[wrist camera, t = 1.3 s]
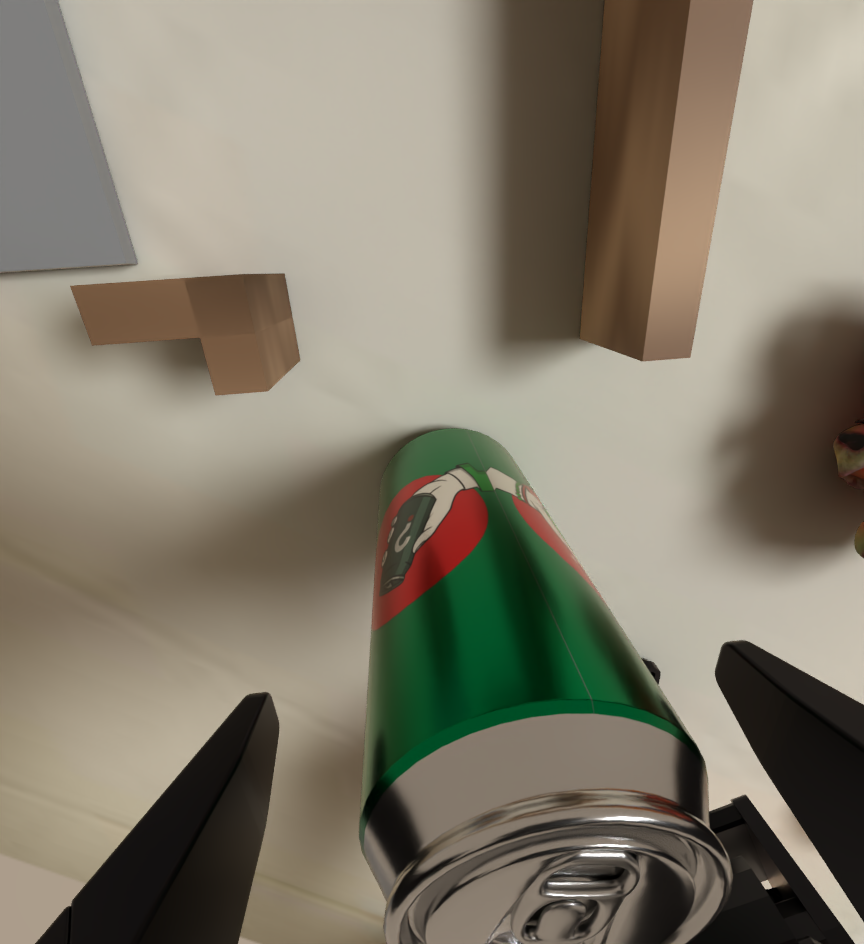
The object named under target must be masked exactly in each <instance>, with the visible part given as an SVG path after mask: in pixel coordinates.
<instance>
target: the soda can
mask: <svg viewBox="0 0 864 944" xmlns="http://www.w3.org/2000/svg"><path fill="white" fill-rule="evenodd" d="M359 840H360V844H361V849H362V853H363V855H364V857H365V859H366V861H367V863H368V865H369V867H370V869H371V871H372V873H373V875H374V877H375V879H376V881H377V882H378V884H379V886H380V889H381V891H382V893H383V895H384V897H385V900H386V902H387V904H386V910H385V917H384V925H383V928H384V933H385V938H386V943H387V944H688V943H689V942H691V941H692V940H693V939H695V938H696V937H697V936H698V935H700V934H701V933H702V932H703V931H704V930H705V929H706V928H707V927H708V926H709V925H710V924H711V923H712V922H713V921H714V920H715V919H716V918H717V916H718V915H719V914H720V912H721V911H722V909H723V908H724V906H725V905H726V903H727V900H728V898H729V896H730V894H731V890H732V884H733V873H732V867H731V863H730V860H729V856H728V854H727V852H726V850H725V848H724V846H723V844H722V843H721V841H720V840H719V838H718V837H717V836H716V835H715V833H714V832H713V831H712V830H711V829H710V822H709V793H708V775H707V770H706V765H705V761H704V759H703V757H702V755H701V753H700V751H699V749H698V747H697V745H696V743H695V742H694V740H693V738H692V737H691V735H690V734H689V732H688V731H687V729H686V728H685V726H684V724H683V723H682V721H681V720H680V718H679V717H678V715H677V714H676V712H675V710H674V709H673V707H672V706H671V704H670V703H669V701H668V700H667V698H666V696H665V695H664V693H663V692H662V690H661V689H660V687H659V685H658V684H657V682H656V681H655V679H654V678H653V676H652V675H651V673H650V671H649V670H648V668H647V667H646V665H645V664H644V662H643V661H642V659H641V657H640V656H639V654H638V653H637V651H636V650H635V648H634V647H633V645H632V643H631V642H630V640H629V639H628V637H627V636H626V634H625V632H624V631H623V629H622V628H621V626H620V625H619V623H618V622H617V620H616V618H615V617H614V615H613V614H612V612H611V611H610V609H609V608H608V606H607V604H606V603H605V601H604V600H603V598H602V597H601V595H600V593H599V592H598V590H597V589H596V587H595V586H594V584H593V583H592V581H591V579H590V578H589V576H588V575H587V573H586V572H585V570H584V569H583V567H582V565H581V564H580V562H579V561H578V559H577V558H576V556H575V555H574V553H573V551H572V550H571V548H570V547H569V545H568V544H567V542H566V540H565V539H564V537H563V536H562V534H561V533H560V531H559V530H558V528H557V526H556V525H555V523H554V522H553V520H552V519H551V517H550V516H549V514H548V512H547V511H546V509H545V508H544V506H543V505H542V503H541V502H540V500H539V498H538V497H537V495H536V494H535V492H534V491H533V489H532V487H531V486H530V484H529V483H528V481H527V480H526V478H525V477H524V475H523V473H522V472H521V470H520V469H519V467H518V466H517V464H516V463H515V461H514V459H513V458H512V456H511V455H510V454H509V453H508V451H507V450H506V449H505V448H504V447H503V446H502V445H500V444H499V443H498V442H497V441H495V440H494V439H492V438H490V437H489V436H487V435H484V434H482V433H479V432H476V431H472V430H468V429H458V428H451V429H441V430H436V431H432V432H429V433H426V434H424V435H421V436H419V437H417V438H416V439H414V440H412V441H410V442H409V443H408V444H406V445H405V446H404V447H403V448H401V449H400V450H399V451H398V453H397V454H396V455H395V456H394V457H393V458H392V460H391V461H390V463H389V464H388V466H387V468H386V470H385V472H384V475H383V477H382V481H381V485H380V495H379V512H378V528H377V544H376V561H375V577H374V593H373V610H372V626H371V642H370V659H369V675H368V691H367V708H366V724H365V740H364V757H363V773H362V789H361V806H360V822H359Z"/></svg>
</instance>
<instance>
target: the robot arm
mask: <svg viewBox="0 0 864 944" xmlns="http://www.w3.org/2000/svg"><path fill="white" fill-rule="evenodd" d="M643 662H644V664H645V665H646V667H647V668H648V670H649V671H650V673H651V675H652V676H653V678H654V679H655V681H656V682H657V684H659V679H660V671H659V669H658V668H657V666H656V665H655V663H654V662H651V661H643ZM715 677H716V681H717V683H718V686H719V687H720V689H721V691H722V693H723V695H724V697H725V699H726V700H727V702H728V704H729V706H730V708H731V710H732V712H733V714H734V715H735V717H736V719H737V721H738V723H739V725H740V727H741V728H742V730H743V732H744V734H745V736H746V738H747V740H748V741H749V743H750V745H751V747H752V749H753V751H754V752H755V754H756V756H757V758H758V759H759V761H760V763H761V765H762V766H763V768H764V769H765V771H766V773H767V774H768V776H769V777H770V779H771V780H772V782H773V783H774V785H775V787H776V788H777V790H778V791H779V793H780V794H781V796H782V797H783V799H784V800H785V802H786V803H787V805H788V806H789V808H790V810H791V811H792V813H793V814H794V816H795V817H796V819H797V820H798V822H799V823H800V825H801V826H802V828H803V829H804V831H805V833H806V834H807V836H808V837H809V839H810V840H811V842H812V843H813V845H814V846H815V848H816V849H817V851H818V852H819V854H820V856H821V857H822V859H823V860H824V862H825V863H826V865H827V866H828V868H829V869H830V871H831V872H832V874H833V875H834V877H835V879H836V880H837V882H838V883H839V885H840V886H841V888H842V889H843V891H844V892H845V894H846V895H847V897H848V898H849V900H850V902H851V903H852V905H853V906H854V908H855V909H856V911H857V912H858V914H859V915H860V917H861V918H862V920H863V922H864V705H863V704H861V703H859V702H857V701H856V700H854V699H852V698H850V697H848V696H847V695H845V694H843V693H841V692H839V691H838V690H836V689H834V688H832V687H830V686H828V685H827V684H825V683H823V682H821V681H819V680H818V679H816V678H814V677H812V676H810V675H808V674H807V673H805V672H803V671H801V670H799V669H798V668H796V667H794V666H792V665H790V664H789V663H787V662H785V661H783V660H781V659H779V658H778V657H776V656H774V655H772V654H770V653H769V652H767V651H765V650H763V649H761V648H760V647H758V646H756V645H754V644H752V643H750V642H748V641H744V640H739V641H730V642H725V643H724V644H723V645H722V647H721V650H720V654H719V658H718V661H717V665H716V669H715ZM278 737H279V720H278V716H277V713H276V710H275V706H274V703H273V700H272V697H271V695H270V694H269V693H268V692H263V693H253V694H249V695H247V696H246V697H244V699H243V700H242V701H241V702H240V703H239V704H238V706H237V707H236V708H235V709H234V710H233V711H232V713H231V714H230V715H229V716H228V717H227V719H226V720H225V721H224V722H223V723H222V724H221V726H220V727H219V728H218V729H217V730H216V731H215V733H214V734H213V735H212V736H211V737H210V739H209V740H208V741H207V742H206V743H205V744H204V746H203V747H202V748H201V749H200V750H199V752H198V753H197V754H196V755H195V756H194V757H193V759H192V760H191V761H190V762H189V763H188V764H187V766H186V767H185V768H184V769H183V770H182V772H181V773H180V774H179V775H178V776H177V777H176V779H175V780H174V781H173V782H172V783H171V785H170V786H169V787H168V788H167V789H166V790H165V792H164V793H163V794H162V795H161V796H160V798H159V799H158V800H157V801H156V802H155V803H154V805H153V806H152V807H151V808H150V809H149V810H148V812H147V813H146V814H145V815H144V816H143V818H142V819H141V820H140V821H139V822H138V823H137V825H136V826H135V827H134V828H133V829H132V831H131V832H130V833H129V834H128V835H127V836H126V838H125V839H124V840H123V841H122V842H121V843H120V845H119V846H118V847H117V848H116V849H115V851H114V852H113V853H112V854H111V855H110V856H109V858H108V859H107V860H106V861H105V862H104V864H103V865H102V866H101V867H100V868H99V869H98V871H97V872H96V873H95V874H94V875H93V877H92V878H91V879H90V880H89V881H88V882H87V884H86V885H85V886H84V887H83V888H82V890H81V891H80V892H79V893H78V894H77V895H76V897H75V898H74V899H73V901H72V903H71V906H68V907H66V908H65V909H64V911H63V912H62V913H61V914H60V915H59V916H58V917H57V919H56V920H55V921H54V923H52V925H51V926H50V927H49V928H48V929H47V930H46V932H45V933H44V934H43V935H42V936H41V938H40V939H39V940H38V941H37V942H36V943H35V944H238V941H239V937H240V933H241V928H242V924H243V920H244V916H245V912H246V908H247V903H248V899H249V895H250V891H251V887H252V882H253V878H254V874H255V870H256V866H257V861H258V857H259V853H260V849H261V845H262V841H263V836H264V831H265V827H266V821H267V815H268V809H269V802H270V795H271V787H272V780H273V773H274V766H275V759H276V752H277V744H278ZM731 802H732V803H731V804H728V805H726V806H723V807H720V808H718V809H715V810H712V811H710V812H709V822H710V829H711V830H712V831H713V832H714V833H715V835H716V836H717V837H718V838H719V840H720V841H721V843H722V844H723V846H724V848H725V850H726V852H727V854H728V856H729V860H730V863H731V867H732V873H733V884H732V890H731V894H730V896H729V898H728V900H727V903H726V905H725V906H724V908H723V909H722V911H721V912H720V914H719V915H718V916H717V918H716V919H715V920H714V921H713V922H712V923H711V924H710V925H709V926H708V927H707V928H706V929H705V930H704V931H703V932H702V933H701V934H700V935H698V936H697V937H696V938H695V939H693V940H692V941H691V942H689V943H688V944H855V943H854V942H853V940H852V939H851V938H850V936H849V935H848V933H847V932H846V931H845V929H844V928H843V926H842V925H841V924H840V922H839V921H838V920H837V918H836V917H835V916H834V914H833V913H832V911H831V910H830V909H829V907H828V906H827V905H826V903H825V902H824V901H823V899H822V898H821V896H820V895H819V894H818V892H817V891H816V890H815V888H814V887H813V886H812V884H811V883H810V881H809V880H808V879H807V877H806V876H805V875H804V873H803V872H802V871H801V869H800V868H799V867H798V865H797V864H796V862H795V861H794V860H793V858H792V857H791V856H790V854H789V853H788V852H787V850H786V849H785V847H784V846H783V845H782V843H781V842H780V841H779V839H778V838H777V837H776V835H775V834H774V832H773V831H772V830H771V828H770V827H769V826H768V824H767V823H766V822H765V820H764V819H763V817H762V816H761V815H760V813H759V812H758V811H757V809H756V808H755V807H754V805H753V804H752V803H751V801H750V800H749V798H748V797H747V796H746V795H742V796H740V797H737V798H735V799H732V800H731ZM765 880H768V881H769V883H770V884H771V886H772V889H769V890H768V889H766V890H765V888H764V887H763V885H762V884H761V882H762V881H765Z"/></svg>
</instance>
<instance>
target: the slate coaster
mask: <svg viewBox="0 0 864 944" xmlns="http://www.w3.org/2000/svg"><path fill="white" fill-rule="evenodd" d="M130 264H138V262H137V258H136V255H135V252H134V248H133V245H132V242H131V239H130V235H129V232H128V229H127V226H126V222H125V219H124V216H123V212H122V209H121V206H120V203H119V199H118V196H117V193H116V190H115V186H114V183H113V180H112V176H111V173H110V170H109V167H108V163H107V160H106V157H105V153H104V150H103V147H102V144H101V140H100V137H99V134H98V131H97V127H96V124H95V121H94V117H93V114H92V111H91V108H90V104H89V101H88V98H87V95H86V91H85V88H84V85H83V81H82V78H81V75H80V72H79V68H78V65H77V62H76V59H75V55H74V52H73V49H72V45H71V42H70V39H69V36H68V32H67V29H66V26H65V22H64V19H63V16H62V13H61V9H60V6H59V3H58V0H0V273H8V272H23V271H39V270H54V269H69V268H84V267H100V266H115V265H130Z"/></svg>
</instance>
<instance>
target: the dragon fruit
mask: <svg viewBox="0 0 864 944" xmlns="http://www.w3.org/2000/svg"><path fill="white" fill-rule="evenodd" d="M855 423H863V424H859V425H856V426H854V427H852V428H849V429H847V430H845V431H844V432H842V433H840V434H839V435H838V436H837V437H836V439H835V441H834V450H835V455H836V458H837V465H838V476H840V477H842V478H843V479H845V480H846V483H847V484H848V485H850V486H852V487H853V488H856V489H864V420H857V421H855ZM854 545H855V549H856V551H857V552H858V554H859V555H860V556H861V557H863V558H864V521H863V522H862V523H861V524H860V526H859V527H858V529H857V532H856V534H855V541H854Z"/></svg>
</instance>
